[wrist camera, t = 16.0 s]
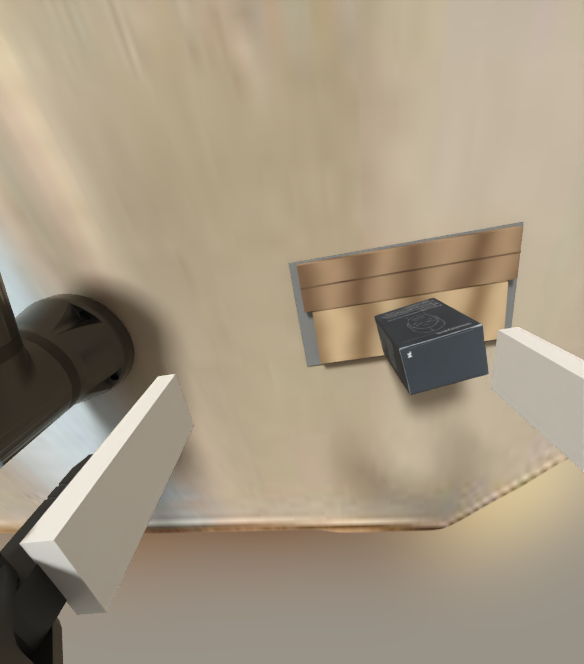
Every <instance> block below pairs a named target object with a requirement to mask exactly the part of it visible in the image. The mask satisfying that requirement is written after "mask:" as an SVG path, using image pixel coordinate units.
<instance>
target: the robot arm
mask: <svg viewBox="0 0 584 664" xmlns="http://www.w3.org/2000/svg"><path fill="white" fill-rule="evenodd" d="M133 360H134V350H133V344H132V341H131V338H130V336H129V334H128V332H127V330H126V328H125V327H124V325H123V324H122V323H121V321H120V320H119V319H118V318H117V317H116V316H115V315H114V314H113V313H112V312H111V311H109V310H108V309H107V308H106V307H104V306H103V305H101V304H99V303H97V302H95V301H93V300H91V299H89V298H86V297H83V296H78V295H72V294H60V295H55V296H51V297H48V298H45V299H42V300H39V301H37V302H35V303H33V304H31V305H30V306H28V307H27V308H26V309H25V310H24V311H22V312H21V313H20V314H19V315H18V316H17V317H16V318H15V317H14V314H13V311H12V308H11V305H10V302H9V299H8V296H7V293H6V289H5V286H4V283H3V280H2V276H1V273H0V468H2V466H4V465H5V464H6V463H7V462H8V461H9V460H10V459H12V458H13V457H14V456H15V455H16V454H17V453H19V452H20V451H21V450H22V449H23V448H24V447H26V446H27V445H28V444H29V443H30V442H31V441H32V440H34V439H35V438H36V437H37V436H38V435H39V434H41V433H42V432H43V431H44V430H45V429H46V428H47V427H49V426H50V425H51V424H52V423H53V422H54V421H56V420H57V419H58V418H59V417H60V416H61V415H63V414H64V413H65V412H66V411H67V410H68V409H70V408H71V407H72V406H73V405H75V404H77V403H80V402H82V401H85V400H87V399H90V398H92V397H95V396H97V395H100V394H103V393H105V392H107V391H109V390H111V389H112V388H114V387H115V386H116V385H117V384H118V383H120V382H121V381H122V380H123V379H124V378H125V377H126V376H127V375H128V373H129V372H130V370H131V367H132V364H133ZM490 389H491V390H492V391H493V392H495V393H496V394H497V395H498V396H499V397H500V398H501V399H502V400H504V401H505V402H506V403H507V404H508V405H509V406H510V407H511V408H512V409H514V410H515V411H516V412H517V413H518V414H519V415H520V416H521V417H523V418H524V419H525V420H526V421H527V422H528V423H529V424H530V425H531V426H533V427H534V428H535V429H536V430H537V431H538V432H539V433H540V434H542V435H543V436H544V437H545V438H546V439H547V440H548V441H549V442H550V443H552V444H553V445H554V446H555V447H556V448H557V449H558V450H559V451H561V452H562V453H563V454H564V455H565V456H566V457H567V458H568V459H569V460H571V461H572V462H573V463H574V464H575V465H576V466H577V467H578V468H580V469H581V470H582V471H583V472H584V360H582V359H580V358H578V357H576V356H574V355H572V354H570V353H568V352H566V351H564V350H563V349H561V348H559V347H557V346H555V345H553V344H551V343H549V342H547V341H545V340H543V339H541V338H539V337H537V336H535V335H533V334H531V333H529V332H527V331H525V330H523V329H521V328H519V327H515V328H507V329H500V330H498V333H497V341H496V349H495V357H494V365H493V373H492V381H491V388H490ZM193 427H194V424H193V421H192V418H191V416H190V413H189V410H188V407H187V405H186V402H185V399H184V396H183V393H182V391H181V388H180V385H179V382H178V380H177V377H176V374H172V375H164V376H158V377H157V378H156V379H155V381H154V382H153V383H152V384H151V385H150V387H149V388H148V389H147V390H146V391H145V393H144V394H143V395H142V396H141V398H140V399H139V400H138V401H137V402H136V404H135V405H134V406H133V407H132V408H131V410H130V411H129V412H128V413H127V414H126V416H125V417H124V418H123V419H122V420H121V422H120V423H119V424H118V425H117V426H116V428H115V429H114V430H113V431H112V432H111V434H110V435H109V436H108V437H107V439H106V440H105V441H104V442H103V443H102V445H101V446H100V447H99V448H98V449H97V451H96V452H95V453H94V454H90V455H88V456H87V457H86V458H85V459H83V460H82V461H81V462H80V463H78V464H77V465H76V466H75V467H73V468H72V469H71V470H70V472H69V473H68V474H67V475H66V476H65V477H64V478H63V480H62V481H61V482H60V483H59V486H58V487H56V488H55V489H54V490H53V491H52V492H51V494H50V495H49V496H48V499H47V500H44V502H43V503H42V504H41V505H40V506H39V507H38V509H37V510H36V511H35V512H34V513H33V514H32V515H31V517H30V518H29V519H28V520H27V521H26V522H25V524H24V525H23V526H22V527H21V528H20V529H19V530H18V532H17V533H16V534H15V535H14V537H12V539H11V540H10V541H9V542H8V543H7V544H6V546H5V547H4V548H3V549H2V550H1V551H0V664H63V650H62V628H61V624H60V621H59V620H58V618H57V616H58V615H59V613H60V611H61V609H62V608H63V606H64V604H65V603H66V602H67V603H68V604H69V605H70V606H71V608H72V609H73V610H74V611H75V613H76V614H77V615H80V614H92V613H104V612H107V611H108V609H109V606H110V604H111V602H112V600H113V598H114V596H115V593H116V591H117V589H118V587H119V585H120V583H121V581H122V579H123V576H124V574H125V572H126V570H127V568H128V566H129V564H130V562H131V559H132V557H133V555H134V553H135V551H136V548H137V547H138V544H139V542H140V540H141V538H142V536H143V534H144V532H145V529H146V527H147V525H148V523H149V521H150V519H151V517H152V515H153V512H154V510H155V508H156V506H157V504H158V502H159V500H160V497H161V495H162V493H163V491H164V489H165V487H166V485H167V482H168V480H169V478H170V476H171V474H172V472H173V470H174V468H175V465H176V463H177V461H178V459H179V457H180V455H181V453H182V450H183V448H184V446H185V444H186V442H187V440H188V438H189V435H190V433H191V431H192V429H193Z"/></svg>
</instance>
